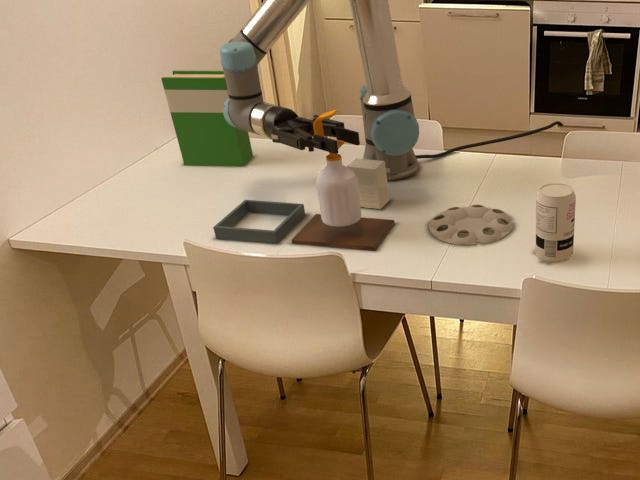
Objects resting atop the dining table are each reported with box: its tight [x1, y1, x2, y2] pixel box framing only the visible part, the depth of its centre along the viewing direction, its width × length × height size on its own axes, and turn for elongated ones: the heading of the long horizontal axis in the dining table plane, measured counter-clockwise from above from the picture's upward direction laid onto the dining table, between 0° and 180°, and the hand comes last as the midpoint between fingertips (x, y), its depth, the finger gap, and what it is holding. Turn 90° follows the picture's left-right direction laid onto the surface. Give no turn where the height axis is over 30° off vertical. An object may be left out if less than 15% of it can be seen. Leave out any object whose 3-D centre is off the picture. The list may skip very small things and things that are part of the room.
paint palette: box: [429, 204, 514, 246], centre depth 176 cm, size 20×20×2 cm
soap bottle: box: [313, 109, 362, 227], centre depth 166 cm, size 9×9×25 cm
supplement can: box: [534, 182, 577, 263], centre depth 159 cm, size 8×8×15 cm
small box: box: [346, 158, 391, 210], centre depth 186 cm, size 8×6×10 cm
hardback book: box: [160, 70, 254, 167], centre depth 209 cm, size 18×7×24 cm, turn 83°
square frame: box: [212, 199, 306, 245], centre depth 179 cm, size 16×16×3 cm
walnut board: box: [291, 213, 396, 252], centre depth 175 cm, size 20×14×1 cm
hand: (347, 143), depth 160 cm, fingers closed on soap bottle, 6 cm apart
